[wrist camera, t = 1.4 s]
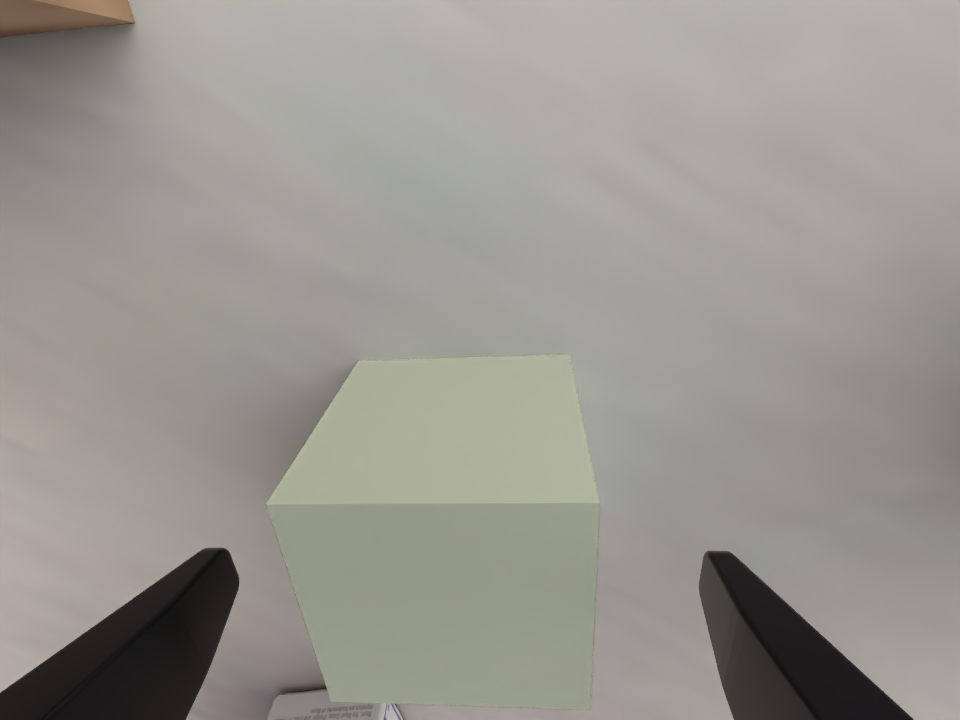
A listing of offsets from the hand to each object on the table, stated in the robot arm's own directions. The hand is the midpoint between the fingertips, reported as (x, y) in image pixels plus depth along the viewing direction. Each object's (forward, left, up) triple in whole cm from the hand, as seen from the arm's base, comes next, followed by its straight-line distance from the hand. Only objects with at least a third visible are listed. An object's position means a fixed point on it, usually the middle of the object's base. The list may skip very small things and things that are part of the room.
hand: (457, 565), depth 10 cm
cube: (0, 0, -4) cm, 4 cm away
